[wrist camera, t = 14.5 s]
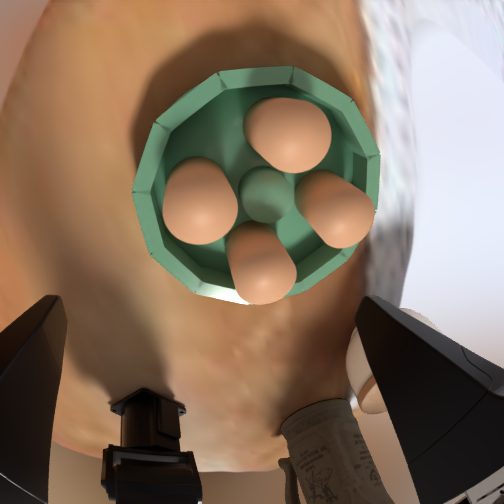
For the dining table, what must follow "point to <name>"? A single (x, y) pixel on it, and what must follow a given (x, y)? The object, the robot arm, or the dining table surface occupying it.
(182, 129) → the ring tray
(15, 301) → the dining table surface
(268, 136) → the bead
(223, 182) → the bead
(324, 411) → the beer stein
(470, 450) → the robot arm
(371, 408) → the lidded jar
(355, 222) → the bead
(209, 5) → the dining table surface
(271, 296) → the bead
